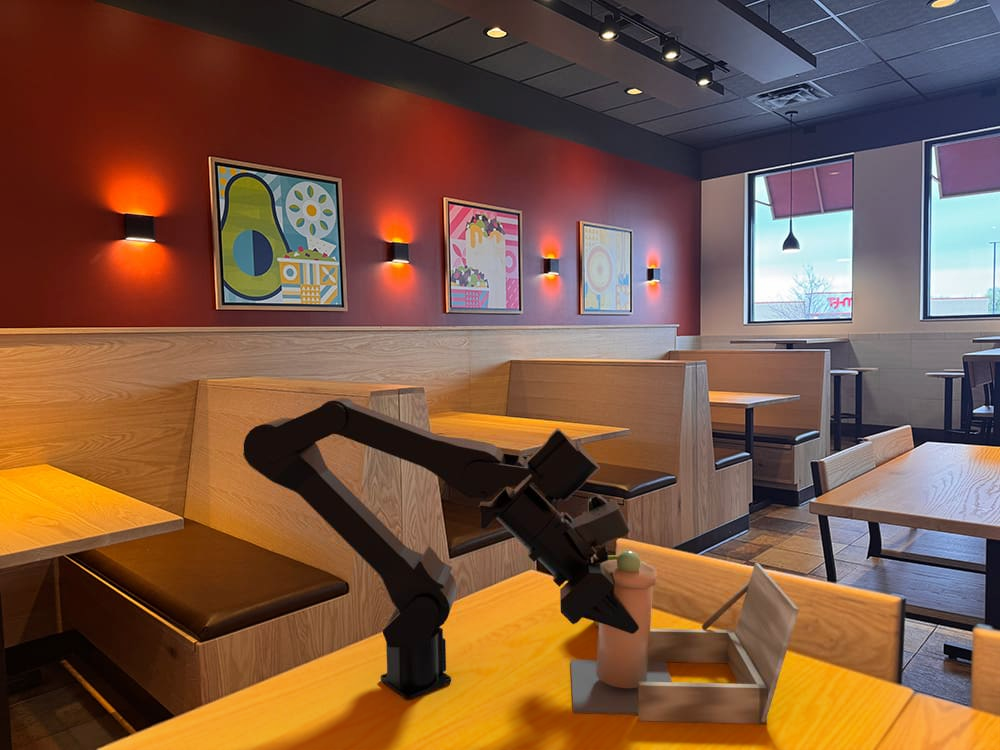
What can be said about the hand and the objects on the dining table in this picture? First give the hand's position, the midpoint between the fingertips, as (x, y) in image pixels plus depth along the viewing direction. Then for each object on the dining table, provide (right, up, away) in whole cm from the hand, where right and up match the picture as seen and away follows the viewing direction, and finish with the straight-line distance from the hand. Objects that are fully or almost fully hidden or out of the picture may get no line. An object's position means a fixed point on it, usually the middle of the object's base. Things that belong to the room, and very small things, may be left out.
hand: (633, 619), depth 83 cm
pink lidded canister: (-1, -7, +1) cm, 7 cm away
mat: (-1, -8, +1) cm, 8 cm away
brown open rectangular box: (+8, -8, 0) cm, 12 cm away
